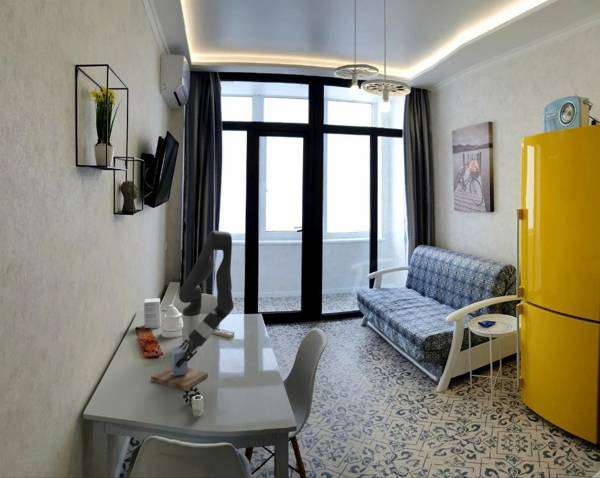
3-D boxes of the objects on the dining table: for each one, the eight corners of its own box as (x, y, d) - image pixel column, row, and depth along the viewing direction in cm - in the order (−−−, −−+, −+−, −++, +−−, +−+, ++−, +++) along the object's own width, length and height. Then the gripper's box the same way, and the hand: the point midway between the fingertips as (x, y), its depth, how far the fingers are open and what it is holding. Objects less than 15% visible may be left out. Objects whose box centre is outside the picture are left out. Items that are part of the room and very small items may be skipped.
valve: (208, 414, 145) (199, 400, 156) (208, 397, 145) (199, 384, 155) (190, 419, 142) (182, 404, 152) (190, 402, 141) (182, 388, 152)
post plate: (151, 380, 172) (150, 367, 172) (174, 368, 185) (174, 356, 184) (185, 390, 163) (185, 376, 163) (207, 376, 176) (207, 364, 175)
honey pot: (180, 337, 226) (179, 307, 225) (158, 337, 227) (157, 307, 225) (187, 330, 239) (186, 301, 237) (166, 330, 239) (165, 301, 238)
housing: (174, 376, 170) (173, 354, 169) (172, 371, 175) (171, 349, 174) (187, 373, 173) (187, 351, 172) (184, 368, 178) (184, 347, 177)
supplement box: (145, 324, 250) (144, 298, 249) (160, 323, 253) (160, 297, 251) (144, 329, 241) (143, 302, 240) (160, 327, 244) (159, 301, 242)
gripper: (191, 324, 182) (165, 353, 177) (199, 333, 170) (172, 365, 165) (203, 333, 185) (178, 362, 180) (212, 343, 173) (185, 374, 168)
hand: (175, 363), depth 173 cm, fingers closed on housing, 5 cm apart
